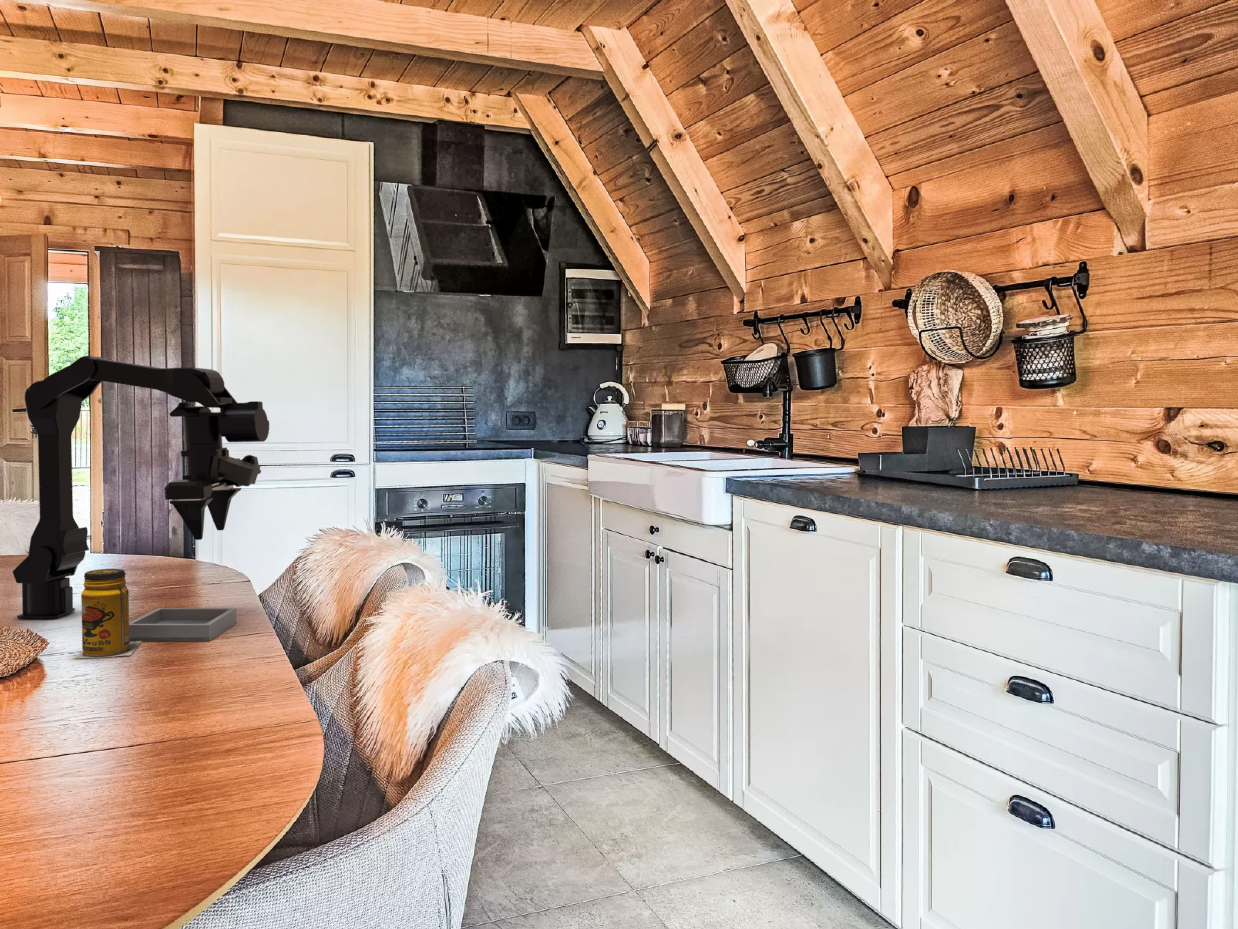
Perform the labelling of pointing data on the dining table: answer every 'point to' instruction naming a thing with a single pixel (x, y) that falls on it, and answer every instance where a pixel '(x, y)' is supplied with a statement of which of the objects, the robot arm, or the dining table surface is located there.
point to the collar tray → (182, 624)
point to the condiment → (105, 615)
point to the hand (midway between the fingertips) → (210, 534)
